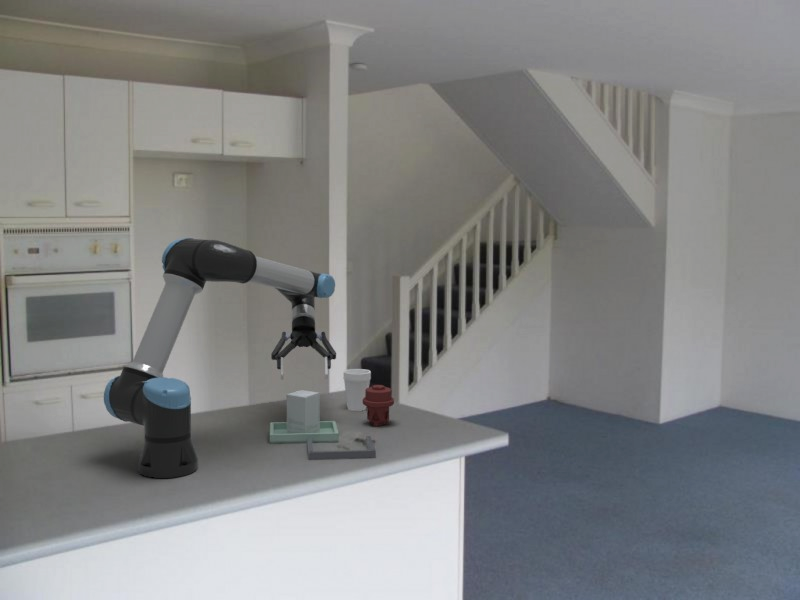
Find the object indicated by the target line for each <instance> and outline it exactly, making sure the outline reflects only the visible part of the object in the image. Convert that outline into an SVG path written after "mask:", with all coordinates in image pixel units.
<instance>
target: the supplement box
mask: <svg viewBox="0 0 800 600" xmlns="http://www.w3.org/2000/svg"><path fill="white" fill-rule="evenodd" d="M320 395H321V394H320V392H317V391H312V390H311V391H310V390H305V389H304V390H303V389H300V390H297V391H293V392H291V393H287V394H286V422H287V434H295V433H320V421H321V419H320V415H321V413H320V411H321V410H320V408H321V407H320V406H321V405H320V404H321V403H320Z"/></svg>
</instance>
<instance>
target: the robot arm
mask: <svg viewBox="0 0 800 600" xmlns="http://www.w3.org/2000/svg"><path fill="white" fill-rule="evenodd" d="M161 263H162V264H163V265H162V269H163V271H164V272H163V275H162V278H163V281H164V286H163V288H162V291H161V294H160V296H159V297H158V301H157V303H156V306H155V307H154V309H153V312H152V314H151V317H150V319H149V322H148V324H147V326H146V329H145V331H144V333H143V336H142V338H141V341H140V343H139V345H138V348H137V350H136V352H135V355H134V357H133V359H132V361H131V362H130V363H128V364H125V365H124V367H123V368H122V370H121V373H120V375H117V376H114V378H112V379H111V380H109V381H108V383H107V384H106V386H105V388H104V393H103V403H104V406H105V408H106V411H107V412H108V413H109V414H110V415H111V416H112V417H113V418H115V419H118V420H120V421H123V422H125V423H126V422H128V423H133V424H136V425H140V426H144V427H143V429H144V433H143V434H144V443H143V446H142V449H141V452H140V453H141V454H139V458H138V462H137V472H138V474H139V473H140V474H139V475H141V474H142V475H141V476H143V475H144V476H143V477H146V476H148V477H147V478H151V477H154V478H153V479H171V478H179V477H184V476H187V475H190V474H192V472H193V473H195V472H196V471H197V470H198V469H199V458H198V455H197V453H196V450H195V447H194V444H193V442H192V438H191V437H192V433H191V432H192V431H191V430H192V429H191V428H192V427H191V426H192V424H191V423H192V422H191V421H192V416H191V415H192V411H191V410H192V407H191V406H192V405H191V404H192V397H191V391H190V390H191V389H190V386H189V385H188V383H186V382H185V381H183V380H181V379H177V378H174V377H170V378H169V377H164V371H165V368H166V366H167V363H168V362H169V358H170V356H171V354H172V351H173V349H174V346H175V344H176V341H177V339H178V337H179V335H180V331H181V330H182V327H183V324H184V322H185V320H186V317H187V315H188V312H189V310H190V307H191V305H192V303H193V299H194V298H195V296H196V295H197V294H200V293H202V292H203V290H204V287H205V285H206V283H207V282H211V283H212V282H215V283H217V282H218V283H220V282H221V283H223V282H224V283H225V282H226V283H237V284H242V285H243V284H247V283H255V284H258V285H262V286H266V287H271V288H274V289H275V290H277V291H278V292H279V294H281V295H282V296H284V297H285V298H286V299H287V300H288V301H289V303H291V332H290V333H287V332H286V331H282V333H281V337H280V339H279V340H278V342H277V344H276V345H275V347H274V348H273V351H272V352H271V354H270V355H271V360H272V361H274V360H275V361H276V369H277V370H280V380H283V381H284V359H285V357H286V356H287V355H288V354H289V353H291V351H292V350H295V348H296V347H298V348H303V347H305V348H309V347H311V348H312V349H313V350H315V351H316V352H317V353H318V354H319V355H321V357H323V358H324V363H323V364H324V379H325V380H328V375H329V374H328V372H329V369H330V370H331V368H332V360H336V359H337V352H336V350H335V349H334V348H333V345H331V343H330V340H329V339H328V338H327V336H326V331H321V333H317V332H316V311H315V302H316V301H315V300H316V299H315V298H320V299H328V298H330V297H332V296H333V294H334V292H335V289H336V281H335V278H334V277H333V275H331V274H328V273H318V272H314V271H311V270H308V269H303V268H300V267H296V266H294V265H289V264H287V263H286V264H285V263H282V262H278V261H274V260H271V259H267V258H264V257H260V256H256V254H255V253H254V252H253V251H251V250H248V249H244V248H241V247H239V246H236V245H233V244H230V243H229V242H225V241H221V240H216V239H203V238H202V239H201V238H199V239H198V238H192V237H185V238H178V239H175V240H173V241H172V242H170V243H169V244H168V245H167V246H166V248H165V249H164V250H163V253H162V256H161ZM317 339H318V340H319V341H320V342H321V343H322V345H323V346H324V347H323V346H322V345H321V344H320V343H319V342H318V341H317ZM288 340H290V342H289V343H288V344H287V345H286V346H284V345H285V344H286V342H287V341H288ZM283 347H284V348H283ZM282 348H283V349H282Z"/></svg>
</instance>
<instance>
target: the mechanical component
mask: <svg viewBox="0 0 800 600" xmlns="http://www.w3.org/2000/svg"><path fill="white" fill-rule="evenodd" d="M392 392H393V391H392V389H391V388H390V387H386V386H385V385H383V384H373V385H372V386H369V388H367V389H365V397H364V398H363V404H364V405H365V406H366V413H367V416H366V418H367V420H368V421H369V423H371V424H373V426H374V427H376V426H377V427H379V426H382V425H387V424H389V420H390V407H392V406H393V405H394V404H395V399H394V398H393V397H392ZM381 424H382V425H381Z"/></svg>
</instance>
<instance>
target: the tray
mask: <svg viewBox="0 0 800 600" xmlns="http://www.w3.org/2000/svg"><path fill="white" fill-rule="evenodd" d="M269 424H270V425H269V444H270V445H271V444H272V445H273V444H277V445H278V444H279V445H280V444H305V443H306V444H307V438H312V444H313V443H314V444H315V443H317V442H318V443H339V431H338V426H337V422H336V420H324V421H321V420H320V433H295V434H287V421H285V422H284V421H274V422H270V423H269ZM318 443H317V444H318Z"/></svg>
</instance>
